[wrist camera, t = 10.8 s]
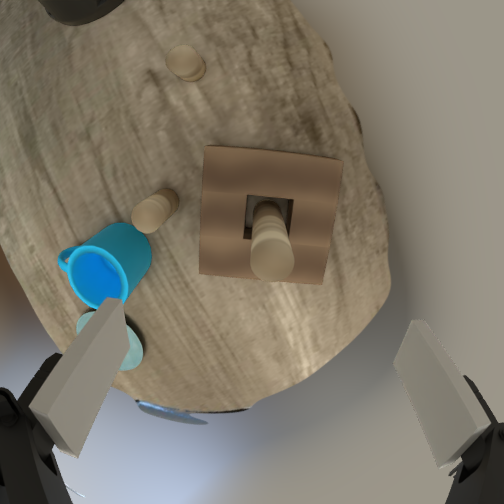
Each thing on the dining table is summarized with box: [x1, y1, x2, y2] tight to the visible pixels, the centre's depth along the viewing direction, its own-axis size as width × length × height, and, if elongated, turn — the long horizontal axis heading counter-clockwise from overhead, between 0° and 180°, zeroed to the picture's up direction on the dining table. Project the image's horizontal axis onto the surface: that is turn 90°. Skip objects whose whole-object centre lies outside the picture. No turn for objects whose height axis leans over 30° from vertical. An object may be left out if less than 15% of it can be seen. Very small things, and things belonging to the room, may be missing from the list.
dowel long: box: [250, 200, 294, 282], centre depth 28 cm, size 3×3×14 cm
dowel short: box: [166, 45, 206, 82], centre depth 26 cm, size 3×3×5 cm
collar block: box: [199, 145, 344, 285], centre depth 32 cm, size 14×14×4 cm
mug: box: [58, 223, 152, 309], centre depth 33 cm, size 12×8×8 cm
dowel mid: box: [131, 189, 179, 233], centre depth 31 cm, size 3×3×7 cm
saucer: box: [76, 311, 143, 370], centre depth 41 cm, size 12×12×2 cm
